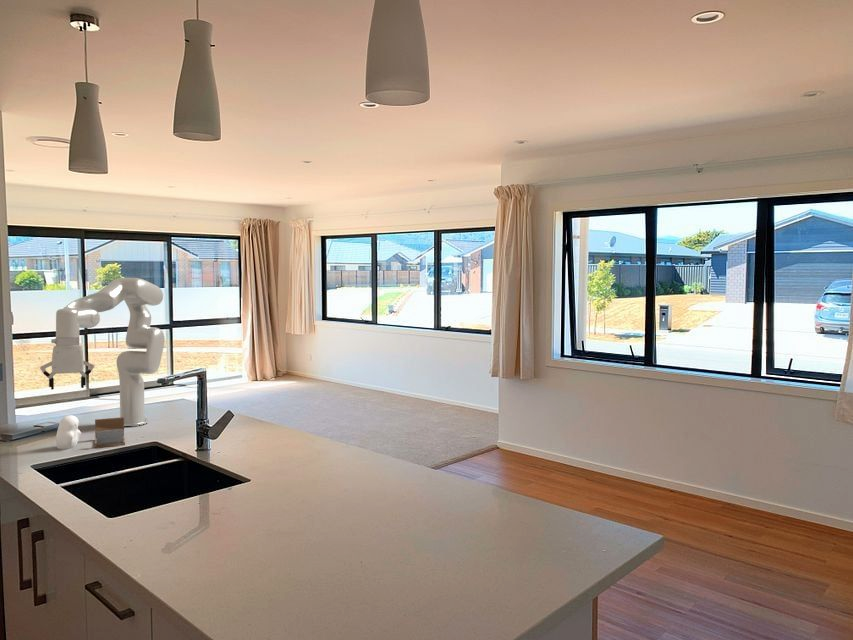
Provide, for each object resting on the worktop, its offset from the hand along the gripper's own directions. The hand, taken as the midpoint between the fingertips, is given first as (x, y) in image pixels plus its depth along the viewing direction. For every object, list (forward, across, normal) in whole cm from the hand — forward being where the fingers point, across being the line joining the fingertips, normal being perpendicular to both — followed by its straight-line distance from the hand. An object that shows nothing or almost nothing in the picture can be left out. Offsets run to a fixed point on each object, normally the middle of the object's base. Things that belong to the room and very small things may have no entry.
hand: (67, 388), depth 229 cm
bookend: (+21, +14, -4) cm, 25 cm away
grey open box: (+22, +14, 0) cm, 26 cm away
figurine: (+22, 0, +1) cm, 22 cm away
